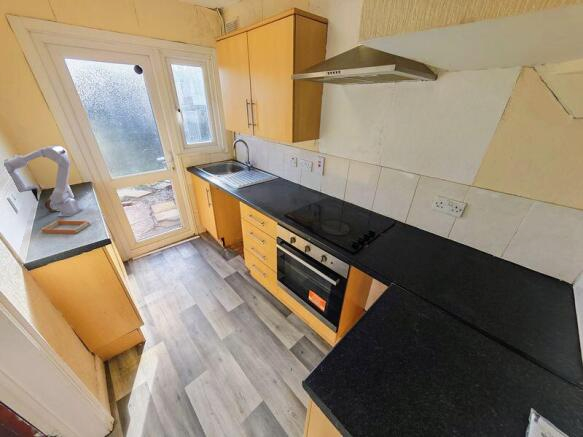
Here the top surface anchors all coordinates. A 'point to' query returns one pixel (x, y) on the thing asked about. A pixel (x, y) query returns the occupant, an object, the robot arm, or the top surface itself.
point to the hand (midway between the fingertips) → (29, 202)
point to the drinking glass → (70, 192)
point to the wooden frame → (49, 229)
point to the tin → (50, 205)
